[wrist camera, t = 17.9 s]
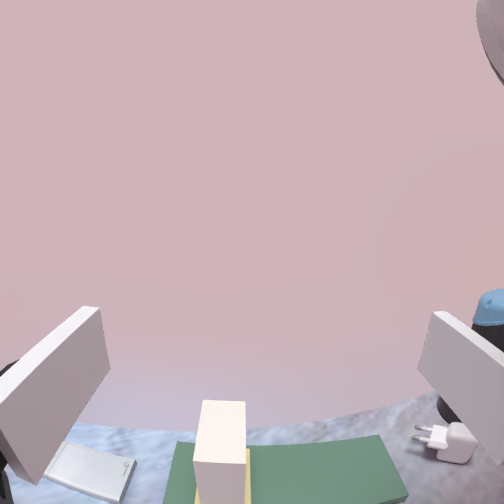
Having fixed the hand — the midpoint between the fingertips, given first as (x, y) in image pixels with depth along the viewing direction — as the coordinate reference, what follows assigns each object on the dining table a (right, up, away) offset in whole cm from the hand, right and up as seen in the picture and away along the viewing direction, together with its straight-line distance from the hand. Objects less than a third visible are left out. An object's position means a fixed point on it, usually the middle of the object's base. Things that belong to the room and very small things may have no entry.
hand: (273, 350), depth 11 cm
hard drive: (-23, -27, +18) cm, 40 cm away
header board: (+4, -27, +20) cm, 34 cm away
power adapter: (+28, -27, +21) cm, 44 cm away
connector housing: (-4, -25, +19) cm, 32 cm away
